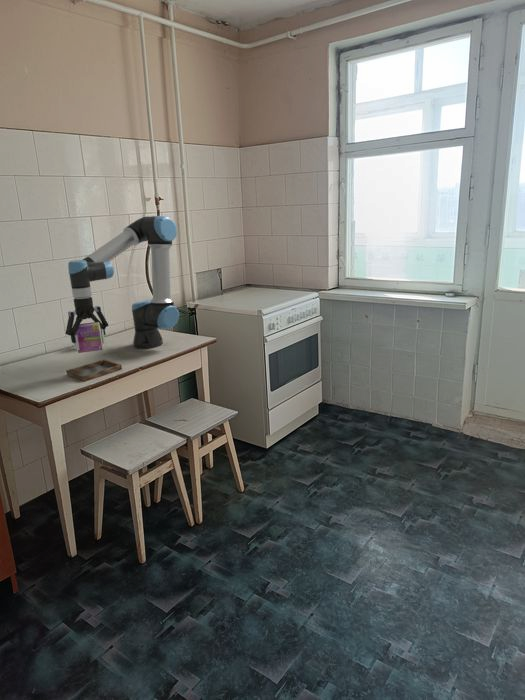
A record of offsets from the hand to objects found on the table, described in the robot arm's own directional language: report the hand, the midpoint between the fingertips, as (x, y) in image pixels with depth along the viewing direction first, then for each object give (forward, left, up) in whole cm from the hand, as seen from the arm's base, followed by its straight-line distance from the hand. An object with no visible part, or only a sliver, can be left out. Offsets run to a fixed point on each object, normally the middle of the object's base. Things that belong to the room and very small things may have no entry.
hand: (90, 346), depth 217 cm
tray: (0, 0, -12) cm, 12 cm away
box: (0, 0, -2) cm, 2 cm away
